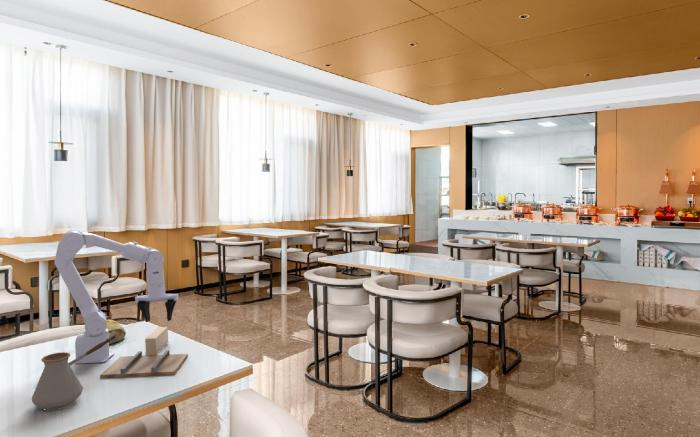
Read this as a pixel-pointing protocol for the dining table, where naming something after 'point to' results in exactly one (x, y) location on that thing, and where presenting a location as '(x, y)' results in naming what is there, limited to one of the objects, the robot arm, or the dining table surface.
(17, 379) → the dining table surface
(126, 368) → the tan panel with rails
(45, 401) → the coffee pot
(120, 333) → the pastry
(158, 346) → the beige rectangular block
